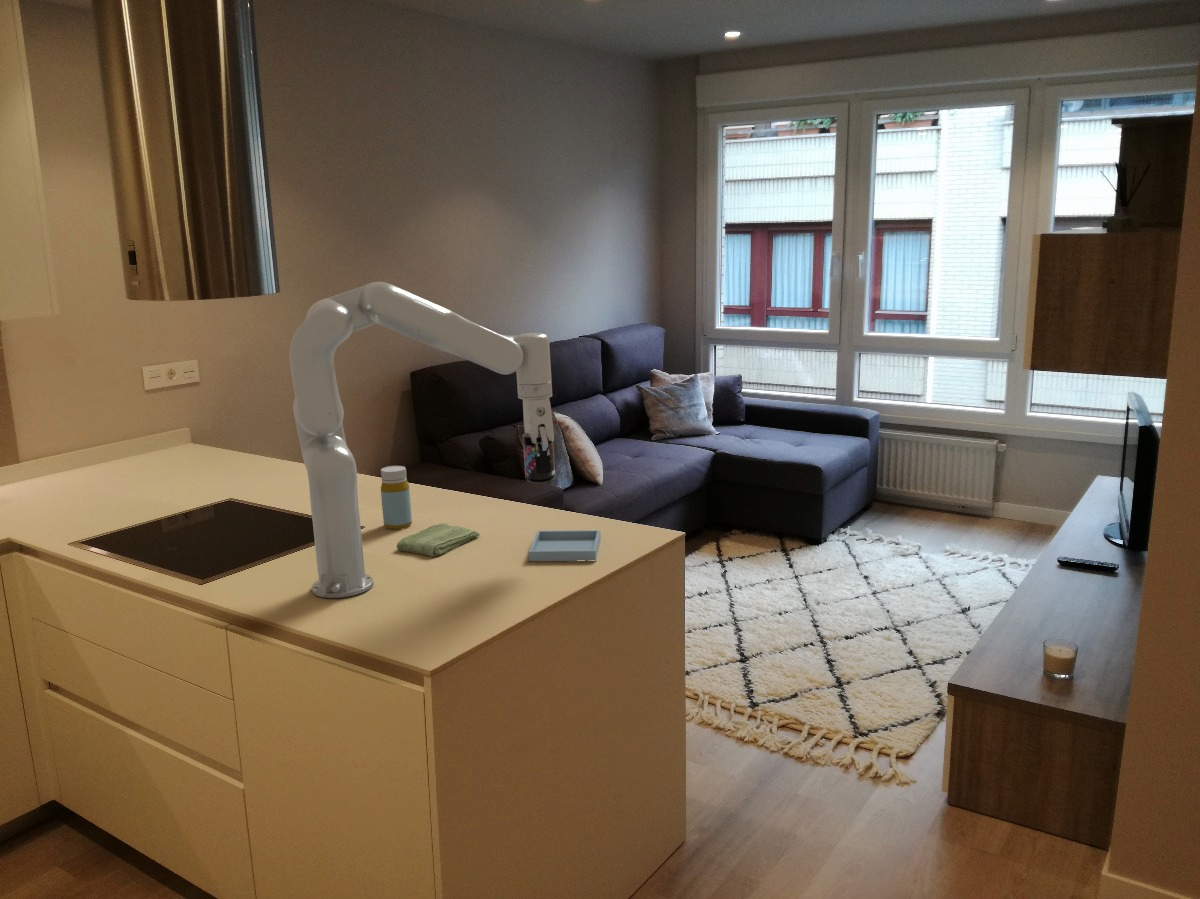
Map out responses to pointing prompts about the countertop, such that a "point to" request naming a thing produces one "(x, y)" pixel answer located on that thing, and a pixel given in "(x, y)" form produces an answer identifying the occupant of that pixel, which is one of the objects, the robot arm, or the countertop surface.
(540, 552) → the tray
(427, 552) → the washcloth
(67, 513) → the countertop surface
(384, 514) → the bottle
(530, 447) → the supplement container
